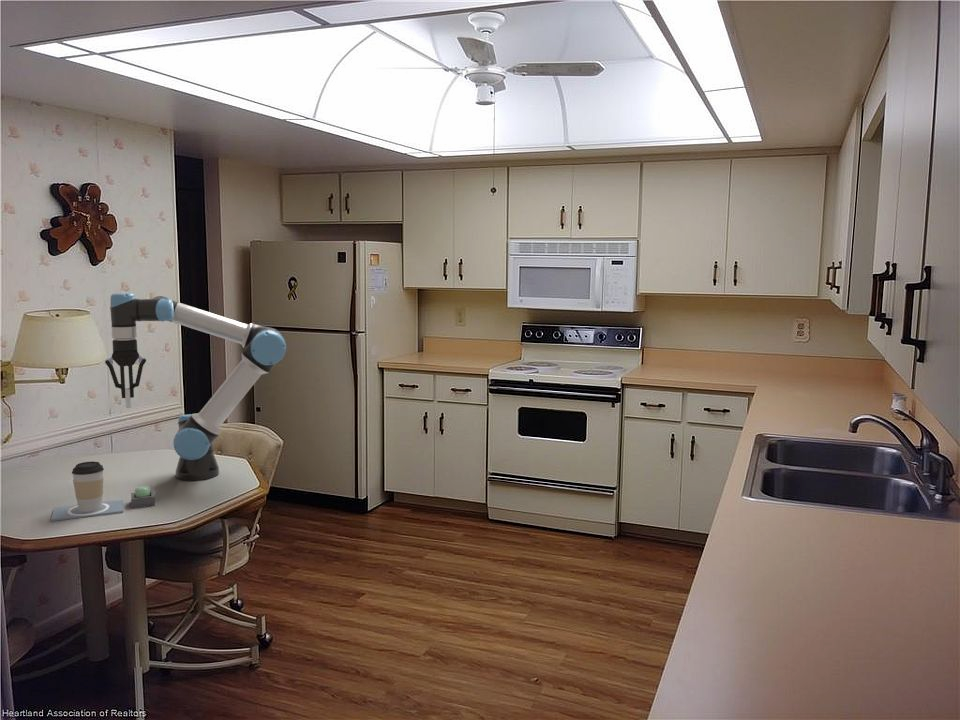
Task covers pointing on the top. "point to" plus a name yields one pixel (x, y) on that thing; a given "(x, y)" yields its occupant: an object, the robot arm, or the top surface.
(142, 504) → the button housing
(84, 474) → the coffee cup
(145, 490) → the button
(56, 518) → the slate board
